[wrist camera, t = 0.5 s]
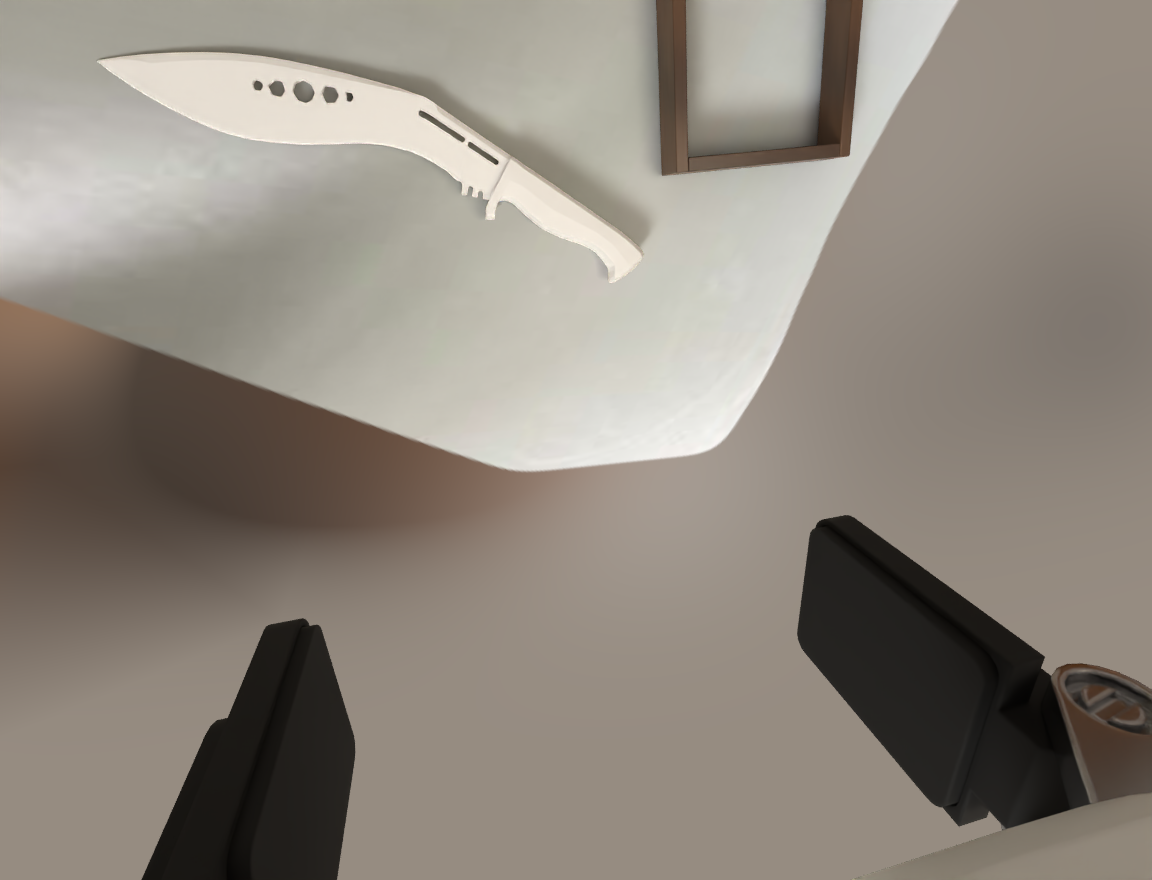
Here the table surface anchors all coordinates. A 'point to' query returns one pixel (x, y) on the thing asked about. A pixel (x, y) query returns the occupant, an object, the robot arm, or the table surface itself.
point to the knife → (362, 132)
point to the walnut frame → (830, 145)
